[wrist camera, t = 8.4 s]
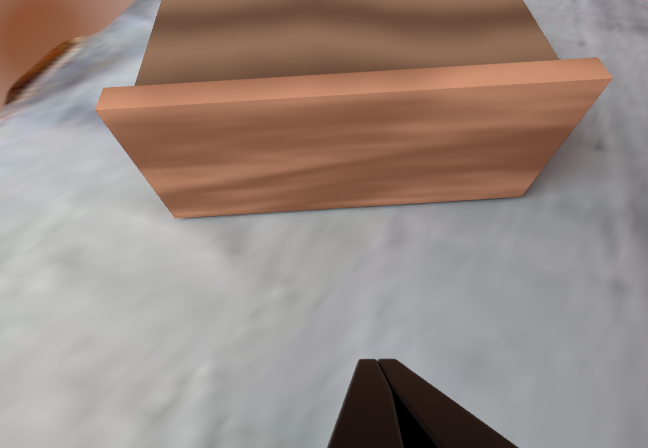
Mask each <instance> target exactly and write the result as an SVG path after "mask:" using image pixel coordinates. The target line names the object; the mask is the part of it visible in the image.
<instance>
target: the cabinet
mask: <svg viewBox="0 0 648 448" xmlns="http://www.w3.org/2000/svg"><path fill="white" fill-rule="evenodd" d="M551 60H559V58H558V57H557V55H556V54H555V52H554V50H553V49H552V47H551V45H550V44H549V42H548V40H547V39H546V37H545V36H544V34H543V32H542V31H541V29H540V27H539V26H538V24H537V22H536V21H535V19H534V18H533V16H532V14H531V13H530V11H529V9H528V8H527V6H526V4H525V3H524V1H523V0H162V1H161V4H160V7H159V10H158V13H157V16H156V20H155V23H154V26H153V29H152V32H151V35H150V39H149V42H148V45H147V48H146V51H145V54H144V58H143V61H142V64H141V67H140V70H139V73H138V77H137V80H136V83H135V86H143V85H159V84H175V83H192V82H208V81H224V80H241V79H257V78H273V77H290V76H306V75H322V74H338V73H355V72H371V71H387V70H404V69H420V68H436V67H453V66H469V65H485V64H502V63H518V62H534V61H551Z"/></svg>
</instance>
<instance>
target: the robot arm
mask: <svg viewBox="0 0 648 448" xmlns="http://www.w3.org/2000/svg"><path fill="white" fill-rule="evenodd" d="M327 448H518V447H517V446H516V445H514V444H513V443H511V442H510V441H509V440H507V439H506V438H504V437H503V436H502V435H500V434H499V433H498V432H496V431H495V430H493V429H492V428H491V427H489V426H488V425H486V424H485V423H484V422H482V421H481V420H480V419H478V418H477V417H475V416H474V415H473V414H471V413H470V412H468V411H467V410H466V409H464V408H463V407H461V406H460V405H459V404H457V403H456V402H455V401H453V400H452V399H450V398H449V397H448V396H446V395H445V394H443V393H442V392H441V391H439V390H438V389H437V388H435V387H434V386H432V385H431V384H430V383H428V382H427V381H425V380H424V379H423V378H421V377H420V376H418V375H417V374H416V373H414V372H413V371H412V370H410V369H409V368H407V367H406V366H405V365H403V364H402V363H400V362H399V361H398V360H396V359H379V360H378V361H377V360H376V359H360V360H359V361H358V363H357V366H356V368H355V371H354V374H353V377H352V380H351V382H350V385H349V388H348V391H347V394H346V396H345V399H344V402H343V405H342V408H341V410H340V413H339V416H338V419H337V422H336V424H335V427H334V430H333V433H332V436H331V438H330V441H329V444H328V447H327Z"/></svg>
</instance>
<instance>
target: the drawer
mask: <svg viewBox="0 0 648 448" xmlns="http://www.w3.org/2000/svg"><path fill="white" fill-rule="evenodd" d="M612 79H613V78H612V77H611V75H610V74H609V72H608V71H607V70H606V68H605V67H604V65H603V64H602V62H601V61H600V60H599V58H583V59H567V60H551V61H534V62H518V63H502V64H485V65H469V66H453V67H436V68H420V69H404V70H387V71H371V72H355V73H338V74H322V75H306V76H290V77H273V78H257V79H241V80H224V81H208V82H192V83H175V84H159V85H143V86H126V87H110V88H103V90H102V93H101V96H100V98H99V101H98V104H97V106H96V109H95V111H96V112H97V114H98V115H99V116H100V118H101V119H102V120H103V122H104V123H105V124H106V126H107V127H108V128H109V130H110V131H111V132H112V134H113V135H114V137H115V138H116V139H117V141H118V142H119V143H120V145H121V146H122V147H123V149H124V150H125V151H126V153H127V154H128V155H129V157H130V158H131V160H132V161H133V162H134V164H135V165H136V166H137V168H138V169H139V170H140V172H141V173H142V174H143V176H144V177H145V178H146V180H147V181H148V183H149V184H150V185H151V187H152V188H153V189H154V191H155V192H156V193H157V195H158V196H159V197H160V199H161V200H162V201H163V203H164V204H165V206H166V207H167V208H168V210H169V211H170V212H171V214H172V215H173V216H174V218H187V217H203V216H219V215H235V214H252V213H268V212H284V211H300V210H316V209H332V208H348V207H364V206H380V205H396V204H412V203H428V202H444V201H460V200H476V199H492V198H508V197H521V196H522V195H523V194H524V193H525V191H526V190H527V189H528V187H529V186H530V185H531V184H532V182H533V181H534V180H535V178H536V177H537V176H538V174H539V173H540V172H541V171H542V169H543V168H544V167H545V165H546V164H547V163H548V161H549V160H550V159H551V158H552V156H553V155H554V154H555V152H556V151H557V150H558V149H559V147H560V146H561V145H562V143H563V142H564V141H565V139H566V138H567V137H568V136H569V134H570V133H571V132H572V130H573V129H574V128H575V127H576V125H577V124H578V123H579V121H580V120H581V119H582V117H583V116H584V115H585V114H586V112H587V111H588V110H589V108H590V107H591V106H592V104H593V103H594V102H595V101H596V99H597V98H598V97H599V95H600V94H601V93H602V92H603V90H604V89H605V88H606V86H607V85H608V84H609V82H610V81H611V80H612Z"/></svg>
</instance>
